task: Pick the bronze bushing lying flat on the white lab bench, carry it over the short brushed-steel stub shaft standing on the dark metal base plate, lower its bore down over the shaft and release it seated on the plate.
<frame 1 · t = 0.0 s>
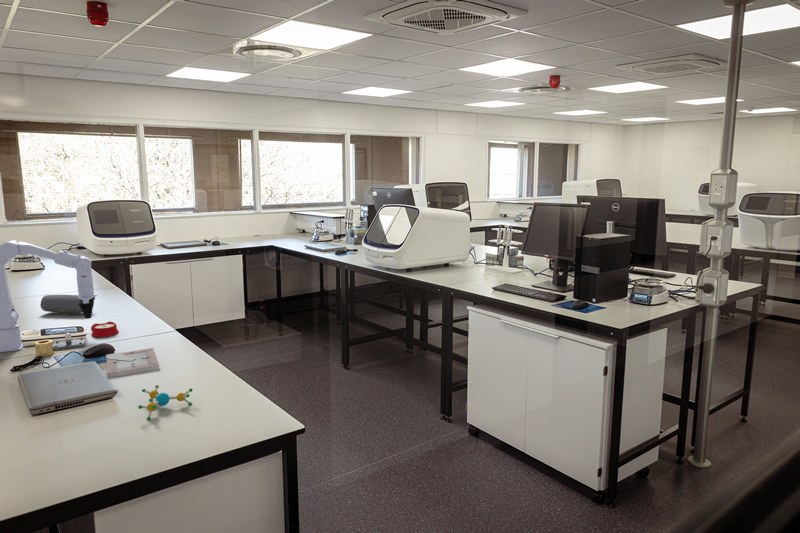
hand: (88, 316, 220), 10 cm above the lab bench, tool pointing down, fingers open, 7 cm apart
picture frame: (132, 366, 192), on the lab bench
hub: (45, 354, 202), on the lab bench
molecular model: (161, 408, 157), on the lab bench
bluetooth speaker: (68, 314, 262), on the lab bench
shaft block: (69, 345, 212), on the lab bench
alarm clock: (104, 333, 230), on the lab bench
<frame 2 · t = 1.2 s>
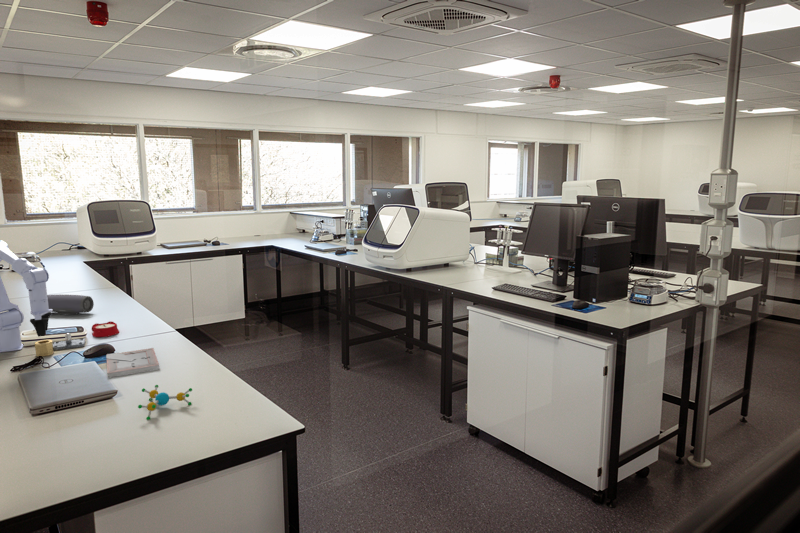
hand: (42, 333, 201), 9 cm above the lab bench, tool pointing down, fingers open, 7 cm apart
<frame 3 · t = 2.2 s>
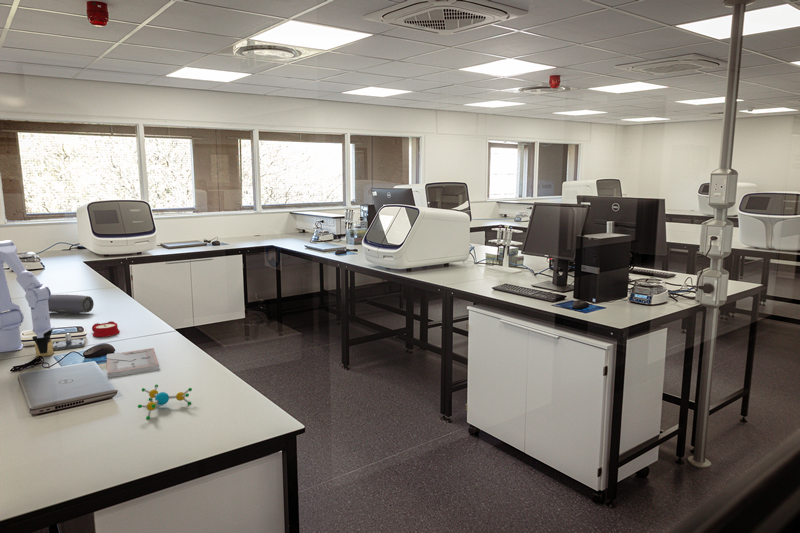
hand: (44, 350, 202), 1 cm above the lab bench, tool pointing down, fingers closed on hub, 6 cm apart
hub: (45, 354, 202), on the lab bench, touching gripper
everything else where it was.
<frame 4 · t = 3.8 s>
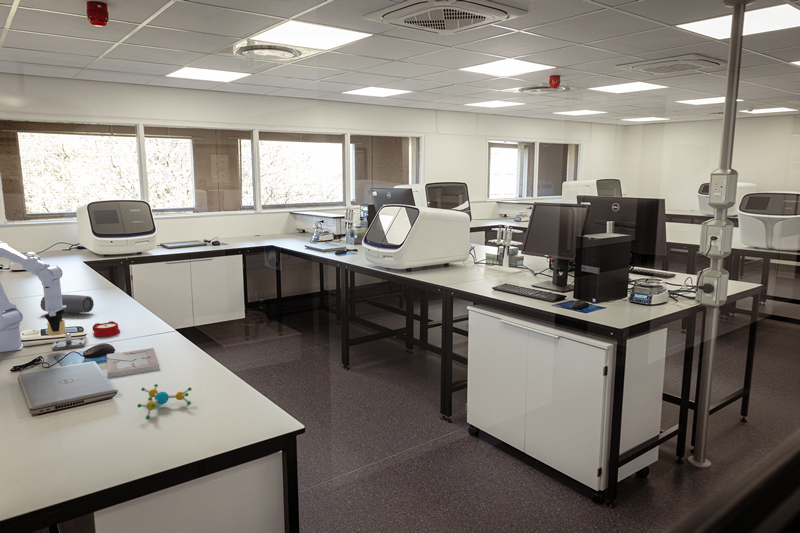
hand: (56, 329, 206), 8 cm above the lab bench, tool pointing down, fingers closed on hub, 6 cm apart
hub: (57, 333, 207), point 7 cm above the lab bench, touching gripper
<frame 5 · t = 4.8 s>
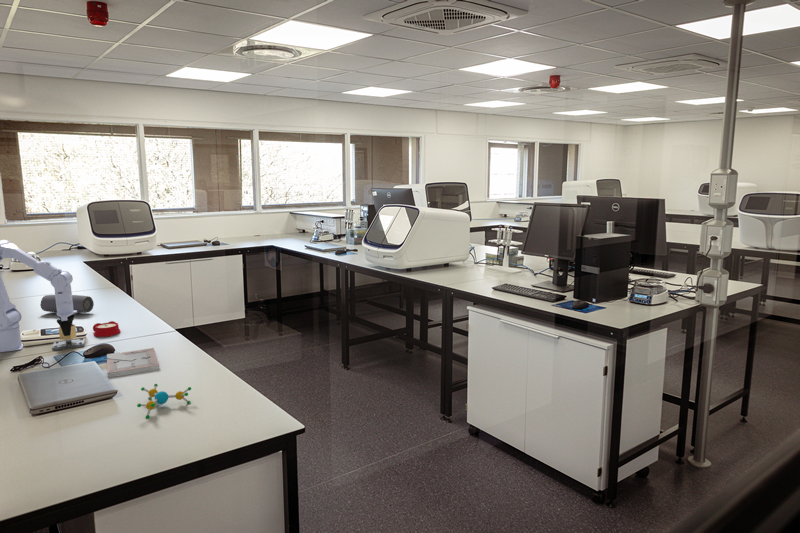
hand: (67, 333, 211), 5 cm above the lab bench, tool pointing down, fingers closed on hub, 6 cm apart
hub: (68, 337, 212), point 3 cm above the lab bench, touching gripper
when the fingers open (3 cm above the lab bench, at t = 5.7 s): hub stays where it is, resting on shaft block.
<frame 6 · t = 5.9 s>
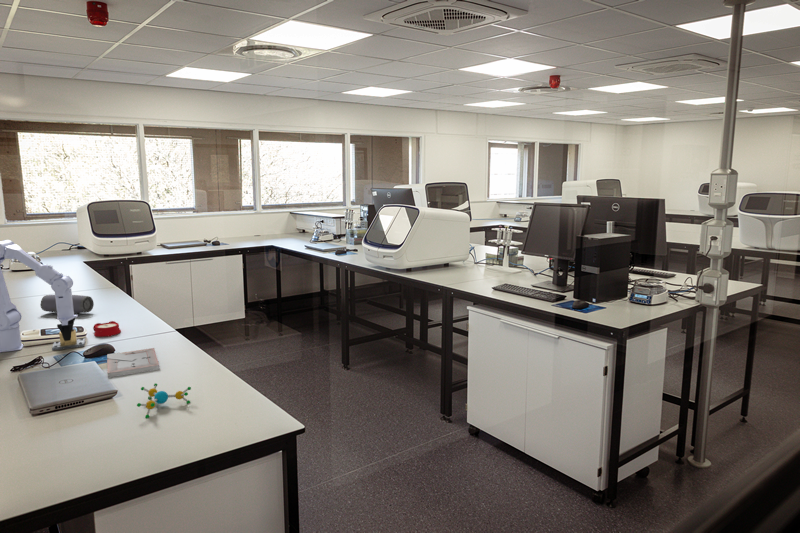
hand: (68, 337, 212), 3 cm above the lab bench, tool pointing down, fingers open, 7 cm apart
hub: (68, 342, 212), point 1 cm above the lab bench, touching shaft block
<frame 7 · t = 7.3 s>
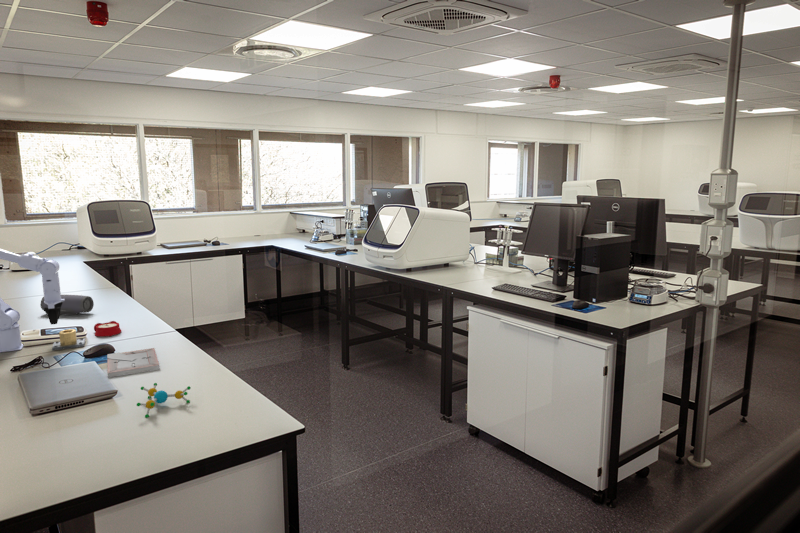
hand: (55, 321, 212), 10 cm above the lab bench, tool pointing down, fingers open, 7 cm apart
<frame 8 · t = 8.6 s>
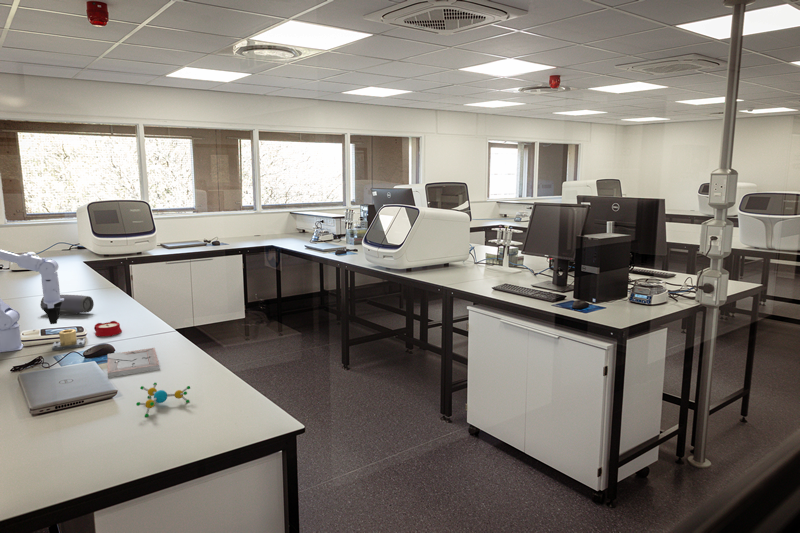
hand: (54, 321, 212), 10 cm above the lab bench, tool pointing down, fingers open, 7 cm apart
at the end: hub 0.0 cm from the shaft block (horizontally); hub point 1.2 cm above the lab bench; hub tilted 0° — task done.
